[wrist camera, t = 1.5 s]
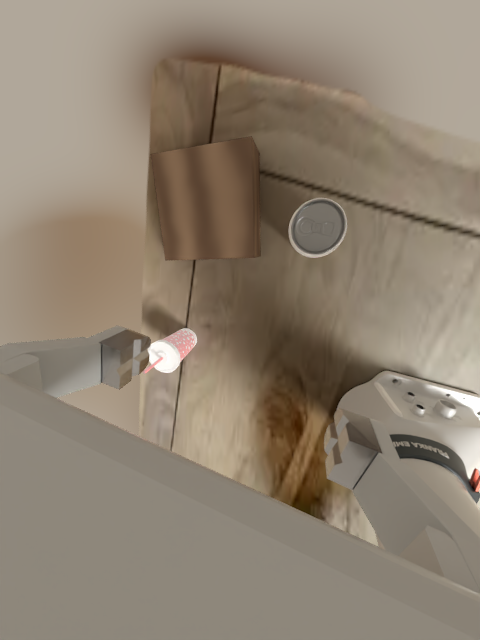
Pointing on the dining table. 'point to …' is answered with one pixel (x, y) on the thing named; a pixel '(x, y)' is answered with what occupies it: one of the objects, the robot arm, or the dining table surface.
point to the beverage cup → (171, 350)
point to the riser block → (209, 200)
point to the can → (317, 227)
